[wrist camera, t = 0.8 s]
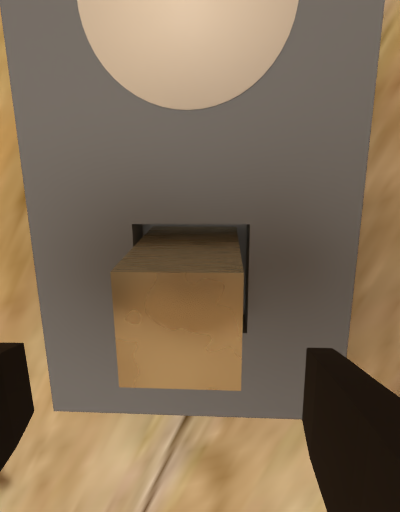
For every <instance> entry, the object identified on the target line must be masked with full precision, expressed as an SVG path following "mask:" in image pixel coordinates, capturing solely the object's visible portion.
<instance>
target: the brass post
mask: <svg viewBox="0 0 400 512" xmlns="http://www.w3.org/2000/svg"><path fill="white" fill-rule="evenodd" d="M110 274H111V287H112V301H113V314H114V327H115V340H116V353H117V366H118V379H119V387H126V388H160V389H193V390H227V391H241V372H242V330H243V287H244V271H243V265H242V259H241V252H240V246H239V240H238V234H237V227H167V226H152V227H151V229H150V230H149V231H148V232H147V233H146V234H145V235H144V236H143V237H142V238H141V239H140V240H139V241H138V243H137V244H136V245H135V246H134V247H133V248H132V249H131V250H130V251H129V252H128V253H127V254H126V255H125V257H124V258H123V259H122V260H121V261H120V262H119V263H118V264H117V265H116V266H115V267H114V268H113V269H112V271H111V272H110Z"/></svg>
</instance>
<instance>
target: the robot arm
mask: <svg viewBox="0 0 400 512" xmlns="http://www.w3.org/2000/svg"><path fill="white" fill-rule="evenodd" d="M33 413H34V406H33V400H32V393H31V387H30V381H29V374H28V368H27V362H26V355H25V349H24V343H0V471H1V470H2V468H3V467H4V465H5V464H6V462H7V461H8V459H9V458H10V456H11V455H12V453H13V452H14V450H15V448H16V447H17V445H18V443H19V441H20V439H21V437H22V435H23V433H24V431H25V429H26V427H27V425H28V423H29V421H30V419H31V417H32V415H33ZM302 421H303V426H304V431H305V436H306V442H307V446H308V451H309V456H310V460H311V463H312V466H313V469H314V472H315V476H316V479H317V482H318V485H319V488H320V491H321V494H322V497H323V500H324V503H325V506H326V509H327V512H400V397H398V396H397V395H396V394H394V393H393V392H391V391H390V390H389V389H387V388H386V387H384V386H383V385H382V384H380V383H379V382H378V381H376V380H375V379H374V378H372V377H371V376H370V375H368V374H367V373H366V372H364V371H363V370H362V369H360V368H359V367H358V366H356V365H355V364H354V363H352V362H351V361H350V360H348V359H347V358H346V357H344V356H343V355H342V354H340V353H339V352H338V351H336V350H334V349H333V348H307V351H306V366H305V382H304V397H303V412H302Z"/></svg>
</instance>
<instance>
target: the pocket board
mask: <svg viewBox="0 0 400 512" xmlns="http://www.w3.org/2000/svg"><path fill="white" fill-rule="evenodd" d="M384 2H385V0H0V8H1V16H2V23H3V31H4V38H5V46H6V54H7V61H8V69H9V76H10V84H11V91H12V99H13V106H14V114H15V121H16V129H17V137H18V144H19V152H20V159H21V167H22V174H23V182H24V189H25V197H26V204H27V212H28V220H29V227H30V235H31V242H32V250H33V257H34V265H35V272H36V280H37V287H38V295H39V303H40V310H41V318H42V325H43V333H44V340H45V348H46V355H47V363H48V371H49V378H50V386H51V393H52V401H53V408H54V411H69V412H98V413H128V414H158V415H187V416H217V417H246V418H276V419H302V412H303V397H304V382H305V366H306V351H307V348H333V349H334V350H336V351H338V352H339V353H340V354H342V355H343V356H344V357H346V356H347V347H348V337H349V328H350V319H351V310H352V300H353V291H354V282H355V272H356V263H357V254H358V244H359V235H360V226H361V216H362V207H363V198H364V188H365V179H366V170H367V160H368V151H369V142H370V133H371V123H372V114H373V105H374V95H375V86H376V77H377V67H378V58H379V49H380V39H381V30H382V21H383V11H384ZM152 226H167V227H237V234H238V240H239V246H240V252H241V259H242V265H243V271H244V287H243V330H242V372H241V391H227V390H193V389H160V388H126V387H119V379H118V366H117V353H116V340H115V327H114V314H113V301H112V287H111V274H110V272H111V271H112V269H113V268H114V267H115V266H116V265H117V264H118V263H119V262H120V261H121V260H122V259H123V258H124V257H125V255H126V254H127V253H128V252H129V251H130V250H131V249H132V248H133V247H134V246H135V245H136V244H137V243H138V241H139V240H140V239H141V238H142V237H143V236H144V235H145V234H146V233H147V232H148V231H149V230H150V229H151V227H152Z"/></svg>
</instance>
